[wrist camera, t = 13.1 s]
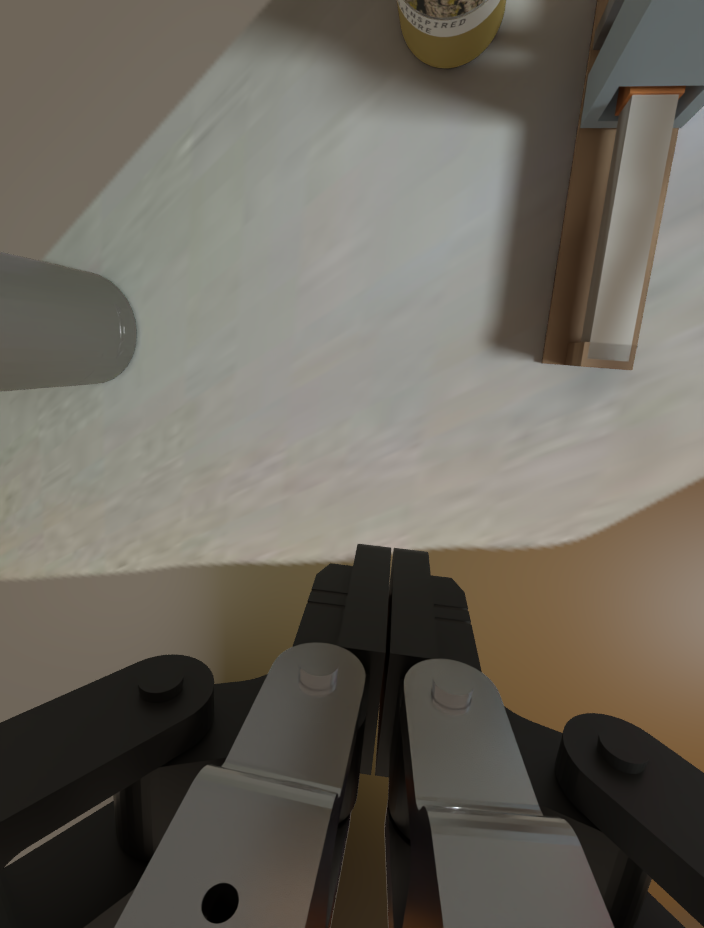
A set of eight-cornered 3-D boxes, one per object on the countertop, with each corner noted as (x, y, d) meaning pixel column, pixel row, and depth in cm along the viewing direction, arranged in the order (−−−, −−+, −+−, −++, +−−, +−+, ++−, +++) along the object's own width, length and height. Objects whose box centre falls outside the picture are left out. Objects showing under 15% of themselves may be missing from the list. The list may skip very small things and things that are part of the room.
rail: (541, 363, 37) (561, 365, 30) (601, -28, 32) (641, -130, 25) (629, 369, 36) (670, 373, 29) (706, -33, 31) (777, -141, 24)
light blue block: (580, 128, 33) (668, -30, 19) (588, 74, 32) (686, -127, 19) (680, 128, 32) (848, -39, 18) (691, 73, 31) (874, -142, 18)
